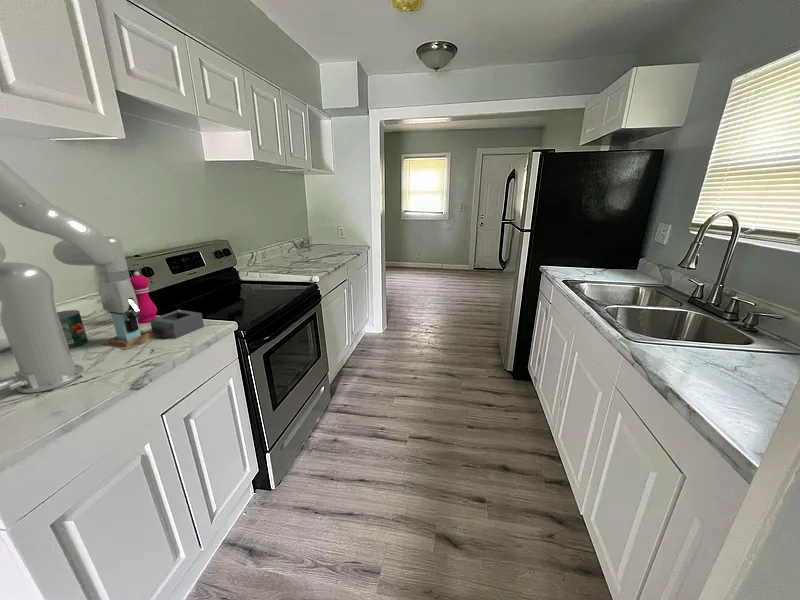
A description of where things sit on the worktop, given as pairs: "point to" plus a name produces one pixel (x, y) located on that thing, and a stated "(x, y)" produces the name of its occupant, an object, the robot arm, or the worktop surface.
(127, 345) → the square wooden tray
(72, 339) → the canned tomato
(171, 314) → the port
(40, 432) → the worktop surface
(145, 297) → the pepper mill
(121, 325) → the plug
